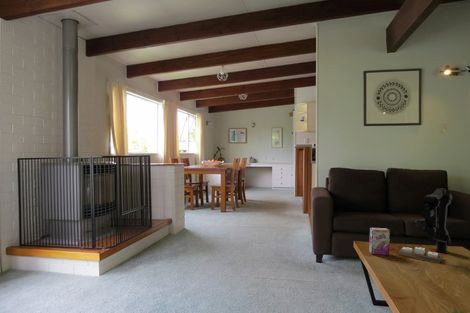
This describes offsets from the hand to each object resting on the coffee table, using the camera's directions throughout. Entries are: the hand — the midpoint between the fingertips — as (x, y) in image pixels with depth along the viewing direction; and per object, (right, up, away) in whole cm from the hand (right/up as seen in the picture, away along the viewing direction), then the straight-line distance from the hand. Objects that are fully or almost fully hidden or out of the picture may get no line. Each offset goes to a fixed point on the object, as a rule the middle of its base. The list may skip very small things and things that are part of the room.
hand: (430, 240), depth 189 cm
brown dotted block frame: (-5, -11, +3) cm, 12 cm away
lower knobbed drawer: (0, -10, -2) cm, 10 cm away
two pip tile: (-5, -8, +3) cm, 10 cm away
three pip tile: (-11, -10, +7) cm, 16 cm away
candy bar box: (-28, -11, +8) cm, 32 cm away
